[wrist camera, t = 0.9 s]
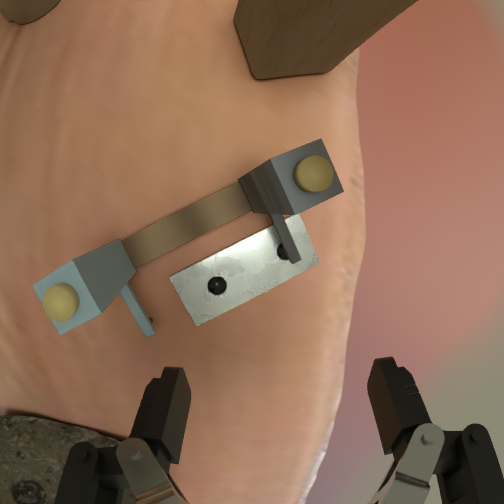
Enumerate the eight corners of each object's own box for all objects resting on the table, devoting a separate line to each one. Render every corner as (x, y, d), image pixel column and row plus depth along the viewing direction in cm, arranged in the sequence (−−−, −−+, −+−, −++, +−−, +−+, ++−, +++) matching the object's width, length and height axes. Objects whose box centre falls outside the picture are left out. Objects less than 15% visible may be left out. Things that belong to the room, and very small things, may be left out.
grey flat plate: (196, 323, 32) (196, 326, 31) (169, 275, 30) (169, 277, 29) (316, 261, 33) (319, 262, 32) (296, 212, 32) (299, 212, 31)
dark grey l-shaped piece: (132, 333, 30) (97, 423, 15) (89, 256, 28) (12, 297, 13) (309, 244, 33) (398, 272, 18) (274, 163, 31) (346, 127, 16)
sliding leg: (139, 333, 29) (110, 420, 15) (94, 253, 27) (23, 290, 13) (167, 320, 30) (153, 404, 15) (123, 237, 28) (64, 263, 13)
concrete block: (164, 438, 33) (164, 563, 13) (163, 475, 34) (167, 583, 14) (-3, 395, 27) (-63, 475, 8) (11, 435, 28) (-32, 515, 9)
